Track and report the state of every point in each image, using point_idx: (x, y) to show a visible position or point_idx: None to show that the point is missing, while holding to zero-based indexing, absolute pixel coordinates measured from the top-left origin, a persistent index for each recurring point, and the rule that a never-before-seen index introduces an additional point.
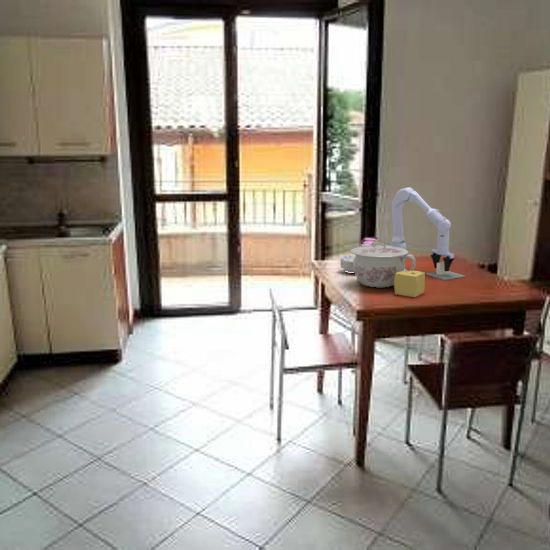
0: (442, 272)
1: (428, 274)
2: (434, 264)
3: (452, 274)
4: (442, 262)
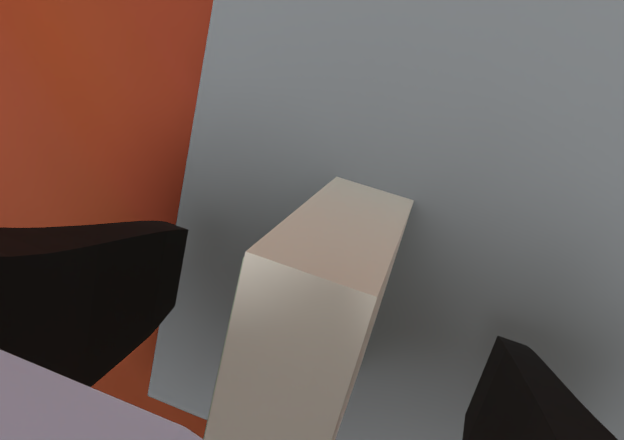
0: (375, 317)
1: None
2: (107, 358)
3: (538, 159)
4: (260, 380)
